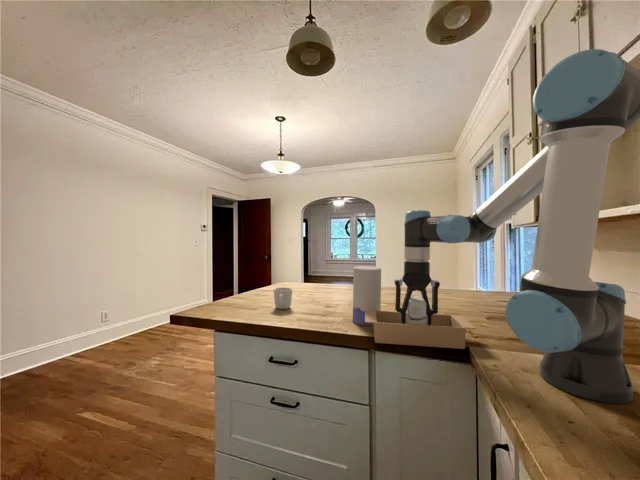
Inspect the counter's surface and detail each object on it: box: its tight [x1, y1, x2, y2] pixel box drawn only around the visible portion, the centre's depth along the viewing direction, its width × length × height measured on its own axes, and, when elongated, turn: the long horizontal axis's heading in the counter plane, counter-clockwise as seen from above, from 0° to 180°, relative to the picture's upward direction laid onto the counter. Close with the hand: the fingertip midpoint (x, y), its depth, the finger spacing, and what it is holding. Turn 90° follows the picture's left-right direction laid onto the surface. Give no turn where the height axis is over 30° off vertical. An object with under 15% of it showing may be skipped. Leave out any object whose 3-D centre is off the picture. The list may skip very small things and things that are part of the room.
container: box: [352, 265, 382, 327], centre depth 105 cm, size 10×10×20 cm
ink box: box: [406, 295, 426, 325], centre depth 90 cm, size 8×5×12 cm, turn 169°
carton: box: [365, 310, 477, 350], centre depth 90 cm, size 13×31×6 cm, turn 81°
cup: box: [273, 287, 293, 310], centre depth 121 cm, size 11×8×8 cm
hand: (415, 334), depth 90 cm, fingers closed on ink box, 5 cm apart
